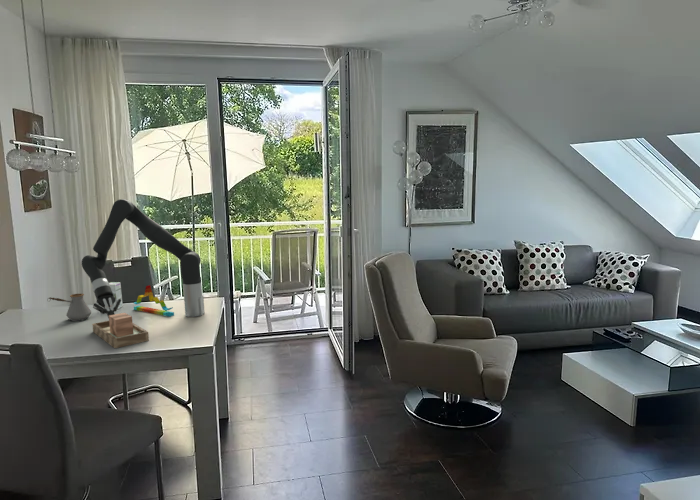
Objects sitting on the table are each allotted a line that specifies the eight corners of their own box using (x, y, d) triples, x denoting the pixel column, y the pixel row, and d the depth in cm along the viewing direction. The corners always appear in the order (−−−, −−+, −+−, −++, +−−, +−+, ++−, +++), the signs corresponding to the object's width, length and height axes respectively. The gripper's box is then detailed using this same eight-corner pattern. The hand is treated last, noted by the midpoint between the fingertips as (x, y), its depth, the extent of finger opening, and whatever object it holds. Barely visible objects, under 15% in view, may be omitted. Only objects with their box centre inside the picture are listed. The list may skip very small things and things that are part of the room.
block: (110, 332, 225) (108, 315, 224) (126, 329, 230) (124, 312, 229) (117, 337, 218) (115, 319, 217) (133, 333, 222) (131, 316, 221)
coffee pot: (81, 314, 267) (78, 287, 264) (96, 316, 262) (93, 289, 260) (43, 326, 247) (40, 296, 245) (59, 328, 243) (55, 298, 241)
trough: (93, 331, 235) (92, 323, 235) (124, 325, 245) (123, 317, 244) (114, 348, 211) (113, 339, 210) (148, 340, 221) (148, 331, 220)
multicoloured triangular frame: (174, 315, 262) (172, 288, 259) (169, 317, 259) (167, 289, 257) (139, 308, 278) (136, 282, 275) (133, 310, 275) (131, 283, 273)
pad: (106, 339, 224) (105, 333, 224) (133, 333, 232) (133, 327, 232) (113, 344, 216) (112, 338, 216) (141, 338, 224) (140, 332, 224)
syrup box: (123, 306, 282) (120, 281, 280) (117, 309, 277) (115, 284, 274) (113, 306, 283) (111, 281, 281) (107, 309, 277) (105, 284, 275)
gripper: (88, 287, 234) (98, 317, 227) (117, 282, 243) (128, 311, 236) (86, 296, 239) (96, 325, 232) (115, 291, 248) (125, 320, 240)
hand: (112, 318), depth 234 cm, fingers closed
